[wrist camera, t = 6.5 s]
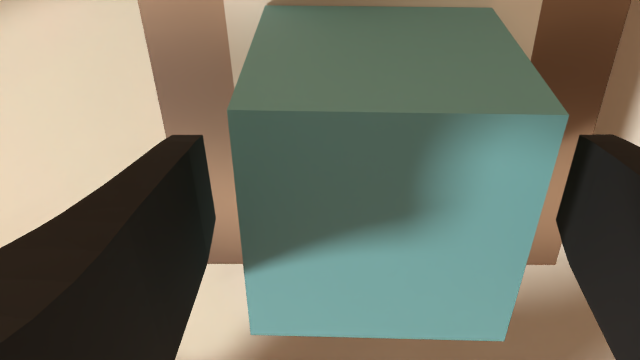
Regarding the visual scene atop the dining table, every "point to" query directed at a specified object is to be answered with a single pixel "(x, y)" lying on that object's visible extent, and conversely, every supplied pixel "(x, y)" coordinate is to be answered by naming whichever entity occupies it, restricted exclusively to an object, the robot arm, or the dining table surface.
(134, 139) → the dining table surface
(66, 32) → the dining table surface
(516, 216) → the teal cube
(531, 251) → the walnut base
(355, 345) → the dining table surface
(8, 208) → the dining table surface
